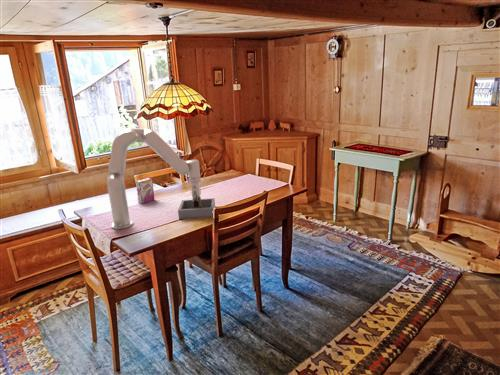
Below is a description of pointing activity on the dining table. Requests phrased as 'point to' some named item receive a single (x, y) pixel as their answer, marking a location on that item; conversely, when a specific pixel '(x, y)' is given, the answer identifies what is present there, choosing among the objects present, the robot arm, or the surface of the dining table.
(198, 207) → the walnut block
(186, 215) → the bin
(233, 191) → the dining table surface
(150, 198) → the candy bar box
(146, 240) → the dining table surface
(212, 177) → the dining table surface
